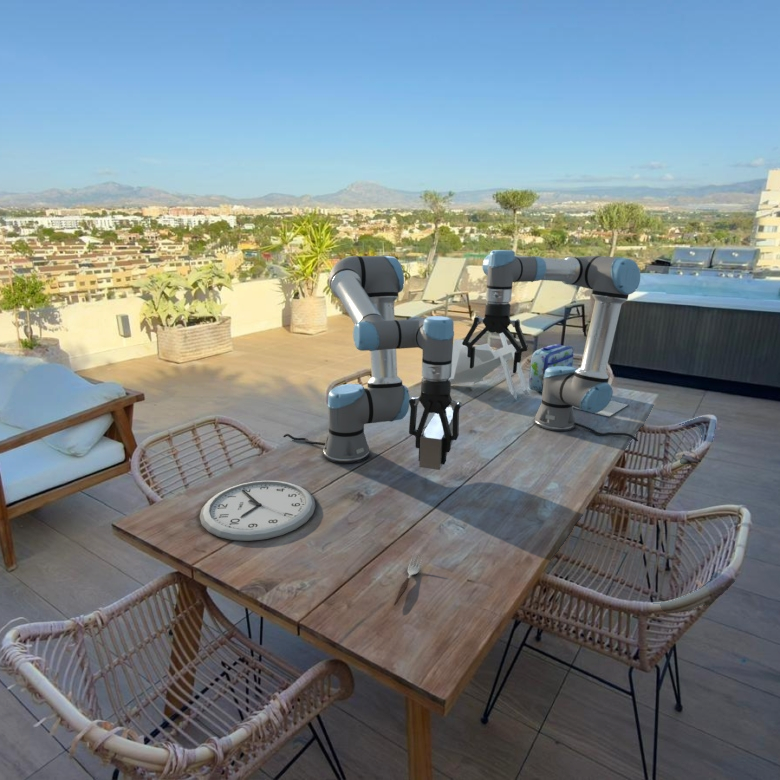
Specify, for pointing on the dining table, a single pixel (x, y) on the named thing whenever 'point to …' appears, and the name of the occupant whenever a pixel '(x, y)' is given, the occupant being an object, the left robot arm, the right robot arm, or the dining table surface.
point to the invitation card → (611, 408)
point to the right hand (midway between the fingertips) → (492, 369)
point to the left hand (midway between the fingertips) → (432, 460)
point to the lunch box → (548, 363)
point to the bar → (434, 441)
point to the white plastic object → (484, 363)
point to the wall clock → (257, 510)
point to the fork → (412, 571)
